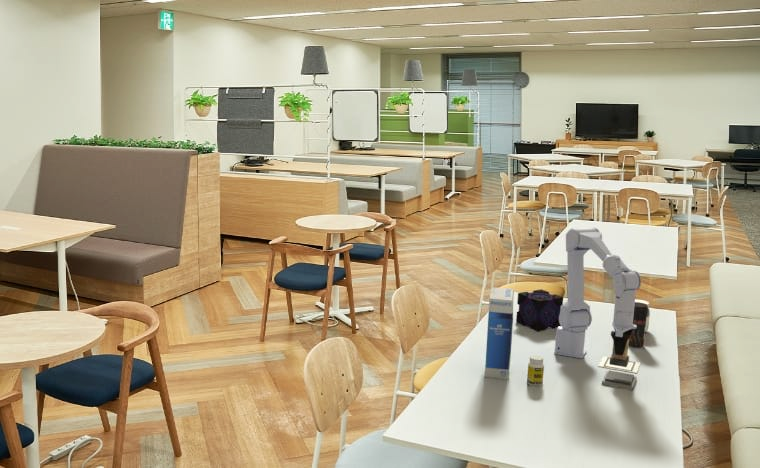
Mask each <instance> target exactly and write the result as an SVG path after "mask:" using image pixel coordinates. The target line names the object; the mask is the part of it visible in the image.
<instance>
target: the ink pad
mask: <svg viewBox="0 0 760 468" xmlns="http://www.w3.org/2000/svg"><path fill="white" fill-rule="evenodd" d="M636 381H637V375H636V376H635V374H633V373H627V372H622V371H621V372H619V371H616V370H611V369H610V370H607V371H606V372H605V374H604V376H603V379H602V380H601V385H603V386H604V385H605V386H610V387H615V388H619V389H626V390H631V391H633V390H634V387H635V384H636Z"/></svg>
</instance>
